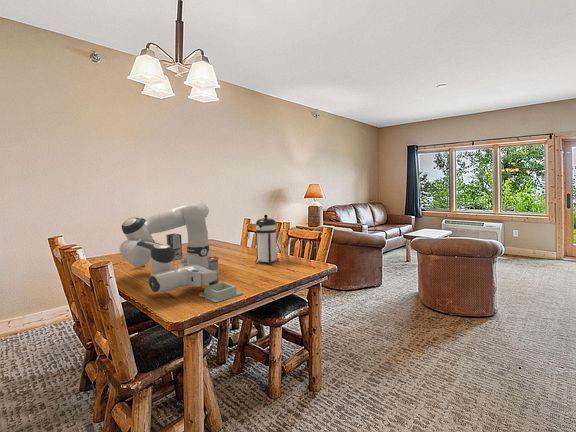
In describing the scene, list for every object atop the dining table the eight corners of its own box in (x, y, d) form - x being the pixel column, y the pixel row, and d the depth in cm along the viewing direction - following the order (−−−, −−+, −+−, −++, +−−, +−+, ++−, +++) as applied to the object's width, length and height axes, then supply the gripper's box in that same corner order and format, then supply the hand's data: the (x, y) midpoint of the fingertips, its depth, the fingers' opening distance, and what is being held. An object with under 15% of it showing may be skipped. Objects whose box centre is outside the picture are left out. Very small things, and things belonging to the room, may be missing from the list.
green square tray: (198, 294, 138) (198, 287, 138) (225, 287, 148) (224, 279, 148) (215, 303, 128) (215, 294, 128) (242, 294, 138) (242, 286, 138)
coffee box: (182, 258, 207) (181, 234, 205) (173, 260, 202) (172, 235, 201) (176, 256, 213) (175, 233, 212) (167, 257, 209) (165, 234, 207)
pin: (206, 286, 149) (205, 257, 148) (215, 283, 153) (214, 255, 152) (212, 288, 146) (210, 259, 144) (221, 286, 149) (220, 257, 148)
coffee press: (283, 264, 188) (282, 215, 185) (257, 266, 184) (256, 216, 181) (276, 257, 205) (275, 212, 202) (252, 259, 200) (250, 213, 197)
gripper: (178, 277, 147) (204, 271, 157) (199, 287, 133) (227, 280, 142) (177, 264, 146) (203, 259, 156) (199, 273, 132) (226, 266, 142)
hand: (215, 269), depth 149 cm, fingers closed on pin, 4 cm apart
